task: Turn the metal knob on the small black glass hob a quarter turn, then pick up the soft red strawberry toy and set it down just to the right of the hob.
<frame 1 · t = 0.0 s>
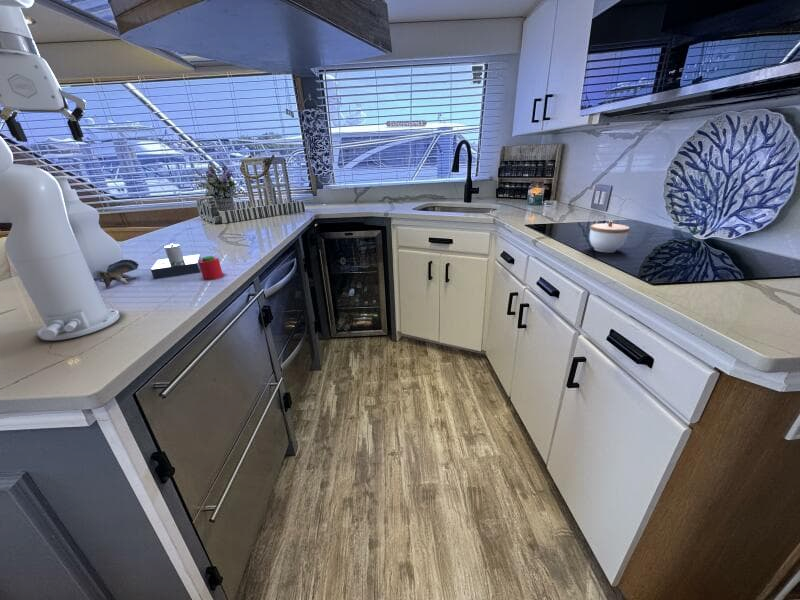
hand: (51, 141, 73), 37 cm above the worktop, tool pointing down, fingers open, 9 cm apart
strawberry toy: (213, 276, 95), on the worktop
hob: (179, 270, 103), on the worktop
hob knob: (174, 253, 101), point 6 cm above the worktop, hinge at 0.0°
trinket box: (604, 250, 106), on the worktop
soap bottle: (102, 275, 102), on the worktop
squirrel figurine: (122, 283, 93), on the worktop
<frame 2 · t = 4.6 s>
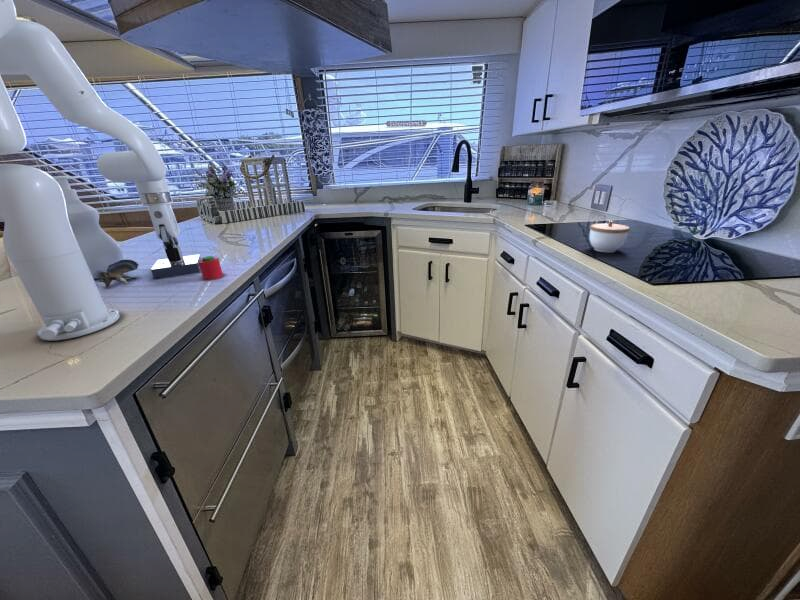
hand: (176, 258, 102), 4 cm above the worktop, tool pointing down, fingers closed on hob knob, 4 cm apart
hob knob: (174, 253, 101), point 6 cm above the worktop, hinge at 0.2°, touching gripper
everything else where it was.
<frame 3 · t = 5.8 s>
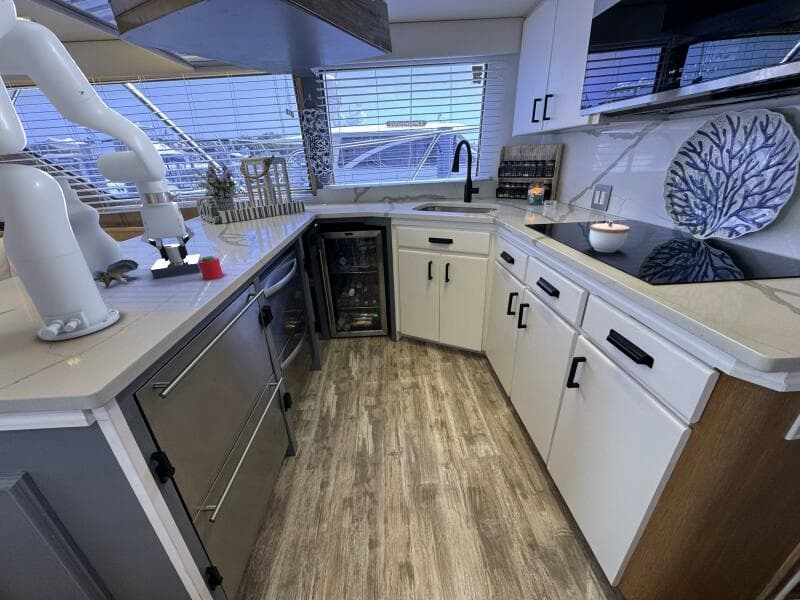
hand: (176, 258, 102), 4 cm above the worktop, tool pointing down, fingers closed on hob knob, 4 cm apart
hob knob: (174, 253, 101), point 6 cm above the worktop, hinge at 90.0°, touching gripper
everything else where it was.
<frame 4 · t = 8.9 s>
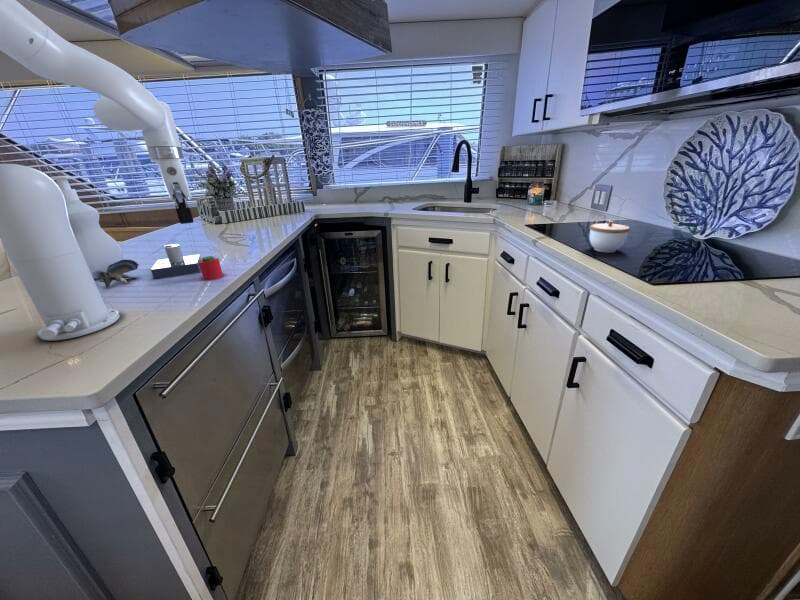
hand: (186, 221, 91), 16 cm above the worktop, tool pointing down, fingers open, 9 cm apart
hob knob: (174, 253, 101), point 6 cm above the worktop, hinge at 88.3°
everything else where it was.
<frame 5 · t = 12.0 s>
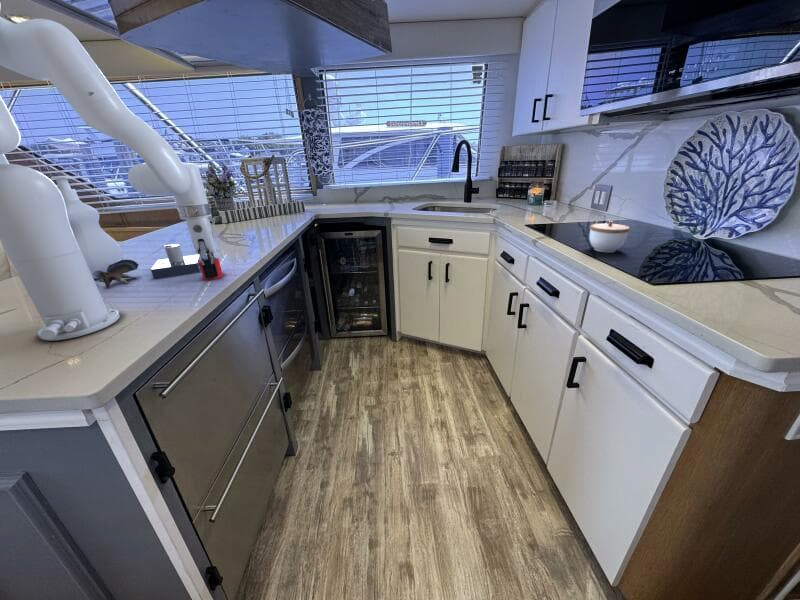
hand: (212, 273, 95), 1 cm above the worktop, tool pointing down, fingers closed on strawberry toy, 5 cm apart
strawberry toy: (213, 276, 95), on the worktop, touching gripper
everything else where it was.
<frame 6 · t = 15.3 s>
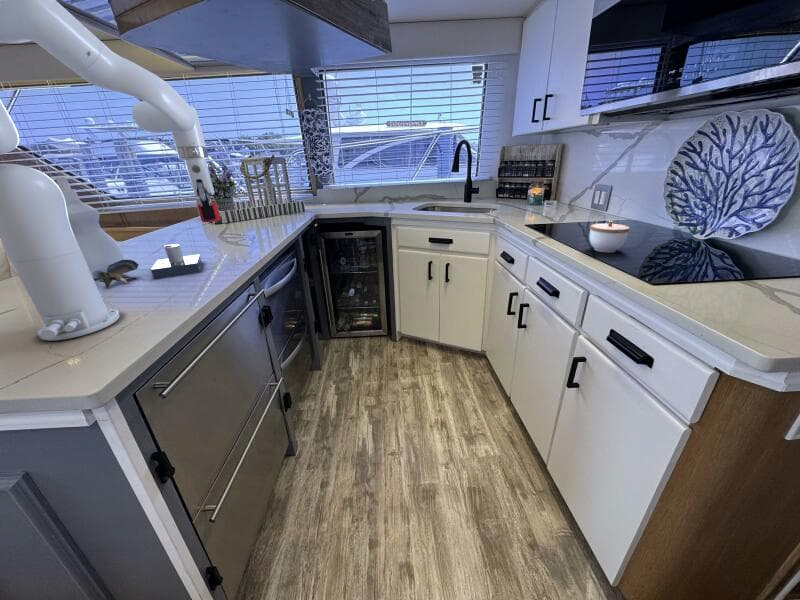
hand: (210, 217, 100), 16 cm above the worktop, tool pointing down, fingers closed on strawberry toy, 5 cm apart
strawberry toy: (211, 220, 101), point 15 cm above the worktop, touching gripper
everything else where it was.
when the fingers open (1 cm above the worktop, at t = 19.1 s): strawberry toy stays where it is, on the worktop.
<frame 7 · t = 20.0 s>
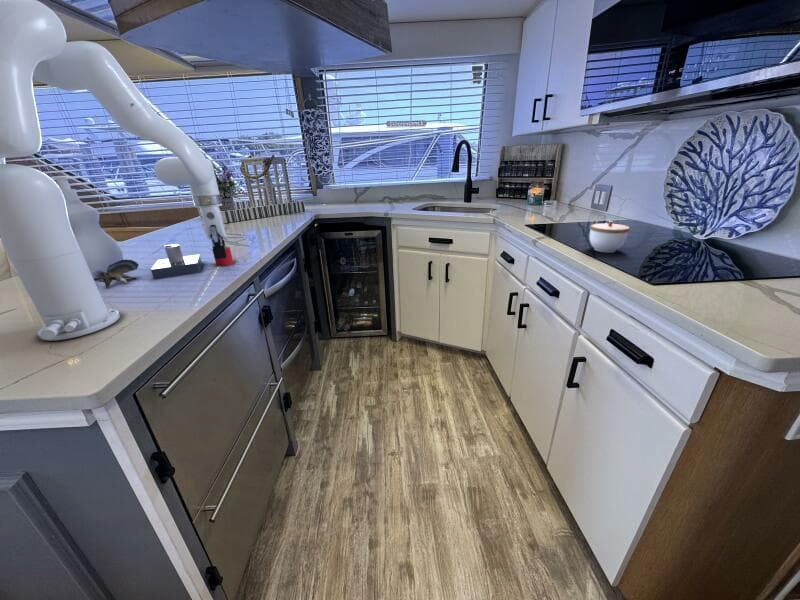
hand: (221, 254, 107), 3 cm above the worktop, tool pointing down, fingers open, 9 cm apart
strawberry toy: (225, 263, 108), on the worktop
everything else where it was.
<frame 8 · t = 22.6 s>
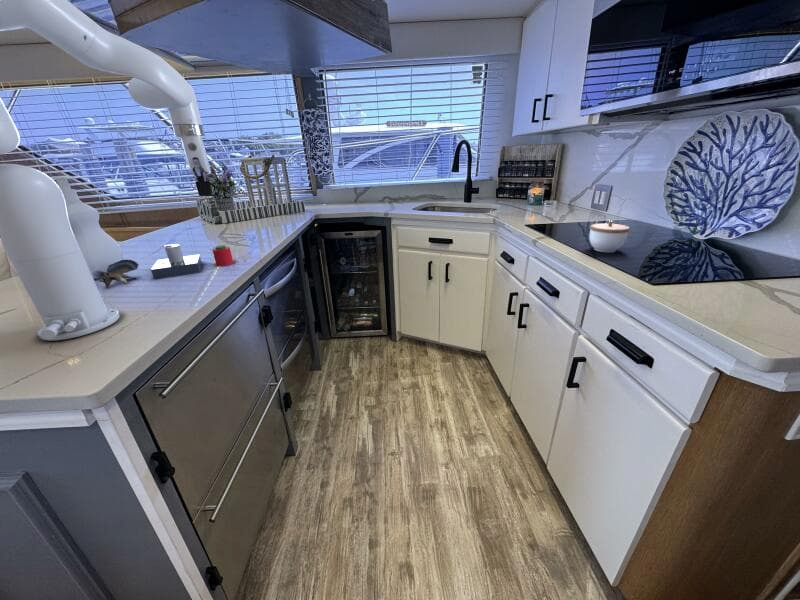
hand: (206, 194, 99), 22 cm above the worktop, tool pointing down, fingers open, 9 cm apart
nothing on the worktop moved.
at the end: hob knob at +88° (first picture: +0°); strawberry toy inside the target area (0.1 cm from its centre), on the worktop; strawberry toy tilted 0° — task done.
